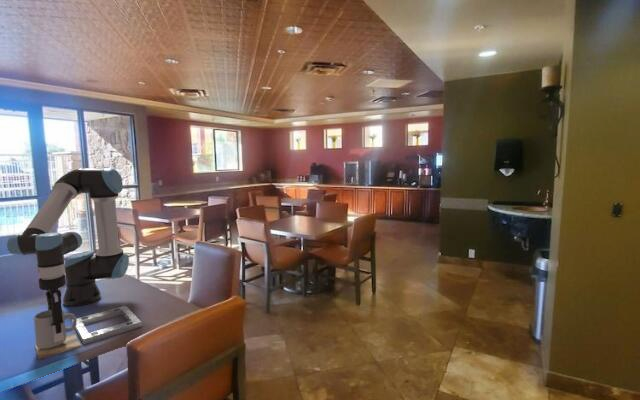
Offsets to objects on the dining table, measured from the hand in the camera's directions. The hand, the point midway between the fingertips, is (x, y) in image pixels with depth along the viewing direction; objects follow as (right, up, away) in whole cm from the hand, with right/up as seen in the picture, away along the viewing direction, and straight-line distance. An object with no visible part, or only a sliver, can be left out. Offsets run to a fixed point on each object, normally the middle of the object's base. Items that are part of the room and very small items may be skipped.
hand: (57, 336), depth 124 cm
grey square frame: (+8, -2, +16) cm, 18 cm away
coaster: (0, -4, 0) cm, 4 cm away
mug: (0, -2, 0) cm, 2 cm away
